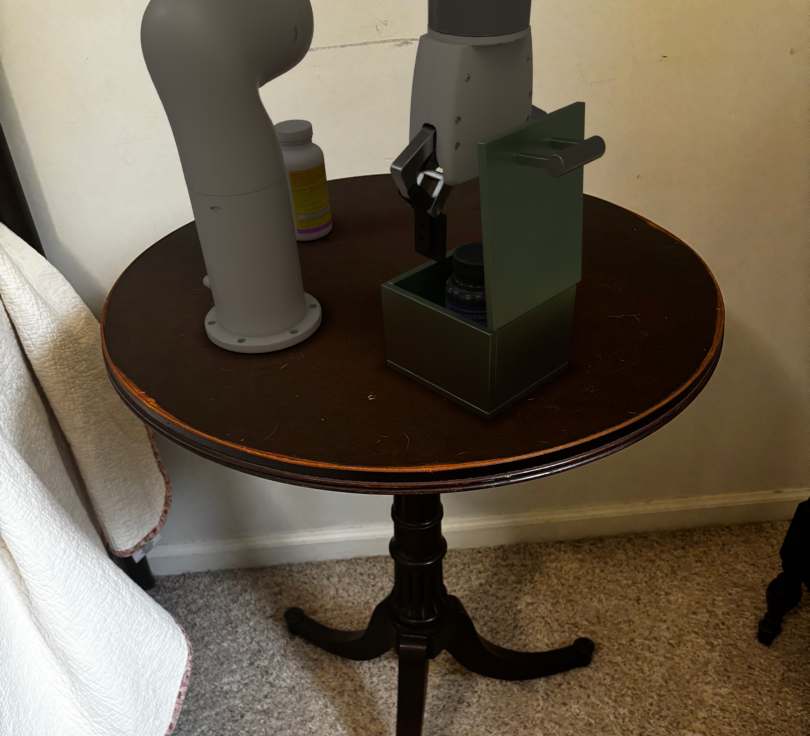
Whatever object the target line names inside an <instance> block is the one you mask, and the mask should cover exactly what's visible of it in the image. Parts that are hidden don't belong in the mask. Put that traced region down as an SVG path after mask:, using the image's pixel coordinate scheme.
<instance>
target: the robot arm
mask: <svg viewBox="0 0 810 736" xmlns="http://www.w3.org/2000/svg"><path fill="white" fill-rule="evenodd" d="M532 1H533V0H426V32H425V33H424V34H421V35H420V36H419V40H418V45H417V49H416V52H415V53H416V54H415V59H414V60H415V61H414V66H413V67H414V68H413V74H412V84H411V92H410V93H411V95H410V106H409V126H408V127H409V128H408V129H409V130H408V144H407V146H406V147H405V148H404V149H403V150H402V151H401V153H399V155H398V156H397V157H396V158H395V159H394V160H393V161H392V163H391V164H390V167H389V172H390V175H391V177H392V179H393V182H394V184H395V186H396V188H398V190H397V193H398V195H399V196H400V197H401V198H402V199H403V200H404V201H405V202H406V203H407V206H408V208H411V209H413V223H414V224H413V225H414V227H413V230H414V231H413V232H414V236H413V237H414V238H413V239H414V242H413V243H414V250H415V252H416V253H417V254H419V255H421V256H423V257H426V258H427V259H430V260H434V261H436V262H442V261H444V260H445V258H446V252H447V236H448V235H447V230H448V228H447V227H448V217H447V214H446V213H444V212H442V211H443V208H444V206H445V204H446V202H447V201H448V198H449V196H450V193H451V192H452V189H453V188H454V187H455V186H459V185H461V184H464V183H467V182H470V181H473V180H474V179H477V178H479V169H478V152H477V143H478V142H480V141H482V140H485V139H487V138H490V137H492V136H495V135H497V134H499V133H502V132H504V131H507V130H509V129H512V128H514V127H516V126H519V125H521V124H524V123H526V122H529V121H531V120H533V119H536V118H538V117H541V116H543V115H546V114H548V112H547V111H546V110H544V109H542V108H540V107H539V106H536V105H534V104H533V94H534V93H533V92H534V91H533V89H534V88H533V87H534V54H533V36H532V25H531V13H532V3H533V2H532ZM139 33H140V37H139V38H140V39H139V40H140V47H141V53H142V57H143V59H144V60H143V61H144V63H145V66H146V70H147V72H148V74H149V77H150V80H151V82H152V84H153V87H154V90H155V91H156V93H157V96H158V98H159V100H160V103H161V105H162V107H163V111H164V112H165V114H166V117H167V121H168V123H169V127H170V130H171V133H172V136H173V139H174V143H175V147H176V149H177V154H178V157H179V161H180V162H179V163H180V165H181V170H182V173H183V179H184V182H185V185H186V189H187V193H188V197H189V202H190V205H191V211H192V214H193V219H194V222H195V223H194V224H195V227H196V231H197V235H198V239H199V243H200V248H201V253H202V256H203V257H202V258H203V260H204V264H205V269H206V273H207V275H205V276H204V277H203V279H202V284H203V285H204V287H207V288H208V289H209V290H211V294H212V295H211V296H212V298H213V303H214V305H213V306H212V308H211V309H210V310H209V311H208V312H207V314H206V316H205V319H204V328H205V332H206V335H207V338H208V339H209V340H210V341H211V342H212V343H213V344H214V345H216V346H218V347H219V348H222V349H225V350H227V351H230V352H235V353H242V354H264V353H271V352H275V351H280V350H284V349H287V348H290V347H293V346H296V345H298V344H300V343H301V342H303V341H305V340H307V339H308V338H309V337H311V336H312V335H313V334H314V333H315V332H316V331H317V330H318V329H319V327H320V326H321V324H322V320H323V312H322V307H321V304H320V302H319V301H318V300H317V299H316V297H314V296H313V295H312V294H310V293H307V292H306V291H305V290H304V289H305V288H304V282H303V276H302V275H303V274H302V270H301V269H302V268H301V263H300V255H299V249H298V243H297V242H298V241H297V240H296V235H295V228H294V222H293V215H292V208H291V202H290V195H289V188H288V182H287V175H286V170H285V164H284V157H283V152H282V147H281V143H280V139H279V136H278V133H277V131H276V129H275V126H274V125H275V124H274V122H273V120H272V119H271V116H270V114H269V113H268V111H267V109H266V107H265V105H264V102H263V100H262V98H261V95H260V90H259V89H261V88H262V87H264V86H266V84H268V83H270V82H272V81H273V80H275V79H277V78H279V77H281V76H283V75H285V74H286V73H288V72H290V71H291V70H293V69H294V68H295V67H297V66H298V65H299V64H300V63H301V62H302V61H303V60H304V59H305V57H306V56H307V54H308V52H309V50H310V48H311V45H312V44H313V43H312V42H313V39H314V33H315V19H314V11H313V7H312V3H311V0H149V1H148V3H147V5H146V7H145V10H144V11H143V14H142V18H141V23H140V32H139ZM437 169H441V170H442V172H441V171H439V170H437ZM417 174H418V176H417ZM433 182H435V183H437V184H436V186H435V189H434V191H433V193H432V195H430V193H429V189H430V187H431V185H432V183H433Z"/></svg>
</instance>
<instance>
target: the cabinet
mask: <svg viewBox="0 0 810 736" xmlns="http://www.w3.org/2000/svg"><path fill="white" fill-rule="evenodd" d="M467 243H468V242H464V243H463V244H461V245H464V244H467ZM461 245H459V246H461ZM459 246H457V247H459ZM457 247H454V248H452V249H449V250H448V251H446V258H445V260H444V261H442V262H436V261H434V260H432V259H430V260H428V261H426V262H424V263H422V264H419V265H418V266H415V267H414V268H412V269H410V270H408V271H406V272H404V273H402V274H399V275H398V276H396V277H393V278H391V279H390V280H387V281H385V282H382V283H381V284H380V291H381V303H382V316H383V317H382V318H383V329H384V330H383V331H384V343H385V353H386V355H385V357H386V366H387V367H388V368H389V369H391V370H393V371H395V372H397V373H399V374H401V375H402V376H404V377H406V378H408V379H410V380H411V381H412V382H415V383H417V384H419V385H420V386H422V387H424V388H427V389H428V390H430V391H432V392H434V393H436V394H438V395H439V396H441V397H443V398H445V399H446V400H449V401H450V402H452V403H454V404H456V405H458V406H460V407H461V408H464V409H466V410H467V411H469V412H471V413H473V414H475V415H476V416H478V417H480V418H482V419H484V420H486V421H490V420H492V419H493V418H495V417H496V416H498V415H499V414H501V413H502V412H504V411H505V410H508V408H510V407H512V406H513V405H515V404H516V403H518V402H519V401H521V400H523V399H524V398H525V397H527V396H528V395H530V394H531V393H533V392H534V391H536V390H538V389H539V388H541V387H542V386H543V385H545V384H547V383H548V382H550V381H551V380H553V379H554V378H556V377H558V375H561V374H562V373H563V372H565V371H566V370H568V369H569V360H570V352H571V341H572V332H573V323H574V315H575V304H576V294H577V287H578V286H577V283H576V284H574V285H572V286H571V287H569V288H567V289H566V290H564V291H562V292H560V293H559V294H557V295H555V296H554V297H552V298H550V299H548V300H547V301H545V302H543V303H542V304H540V305H538V306H536V307H535V308H533V309H531V310H530V311H528V312H526V313H524V314H523V315H521V316H519V317H517V318H516V319H514V320H512V321H511V322H509V323H507V324H505V325H504V326H502V327H500V328H499V329H497V330H495V331H493V330H490V329H488V328H487V327H485V326H483V325H481V324H479V323H477V322H474V321H472V320H470V319H468V318H466V317H463V316H461V315H459V314H457V313H455V312H452V311H450V310H448V309H446V303H445V287H446V282H447V280H448V279H449V277H450V276H451V275H452V274H453V273H454V272H455V271H454V269H453V263H452V262H453V252H454V250H455V249H456V248H457Z"/></svg>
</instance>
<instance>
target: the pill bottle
mask: <svg viewBox="0 0 810 736" xmlns="http://www.w3.org/2000/svg"><path fill="white" fill-rule="evenodd" d="M466 243H467V244H464V243H463V244H464V245H462V244H461V246H460V245H459V247H458V246H457V248H456V247H455V248H456V249H455V250H454V252H453V262H452V263H453V269H454V271H455V272H454V273H453V274H452V275H451V276H450V277H449V279H448V280H447V282H446V287H445V303H446V309H448V310H450V311H452V312H455V313H457V314H459V315H461V316H463V317H466V318H468V319H470V320H472V321H474V322H477V323H479V324H481V325H483V326H485V327H487V311H486V294H485V276H484V258H483V241H473V242H466Z"/></svg>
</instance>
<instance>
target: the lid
mask: <svg viewBox="0 0 810 736" xmlns="http://www.w3.org/2000/svg"><path fill="white" fill-rule="evenodd" d="M585 131H586V102H585V101H579V100H578V101H575V102H572V103H569V104H568V105H565V106H562V107H561V108H558V109H555V110H554V111H551V112H547V114H546V115H543V116H541V117H538V118H536V119H533V120H531V121H529V122H526V123H524V124H521V125H519V126H516V127H514V128H512V129H509V130H507V131H504V132H502V133H499V134H497V135H495V136H492V137H490V138H487V139H485V140H482V141H480V142H478V143H477V152H478V169H479V177H478V186H479V201H480V202H479V204H480V220H481V221H480V223H481V237H482V242H483V258H484V276H485V294H486V311H487V328H488V329H490V330H493V331H495V330H497V329H499V328H500V327H502V326H504V325H505V324H507V323H509V322H511V321H512V320H514V319H516V318H517V317H519V316H521V315H523V314H524V313H526V312H528V311H530V310H531V309H533V308H535V307H536V306H538V305H540V304H542V303H543V302H545V301H547V300H548V299H550V298H552V297H554V296H555V295H557V294H559V293H560V292H562V291H564V290H566V289H567V288H569V287H571V286H572V285H574V284H576V285H577V284H578V283H579V282H581V281H582V261H583V260H582V255H583V254H582V253H583V218H584V217H583V216H584V215H583V214H584V213H583V212H584V211H583V210H584V174H585V173H584V172H585V166H586V165H588V164H590V163H592V162H594V161H596V160H598V159H601V158H602V157H603V156H604V155H605V153H606V148H607V147H606V146H607V145H606V141H605V140H604V138H603V137H602V136H601V135H592V136H590V137H588V138H586V139H585V136H586V135H585V133H586V132H585Z"/></svg>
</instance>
